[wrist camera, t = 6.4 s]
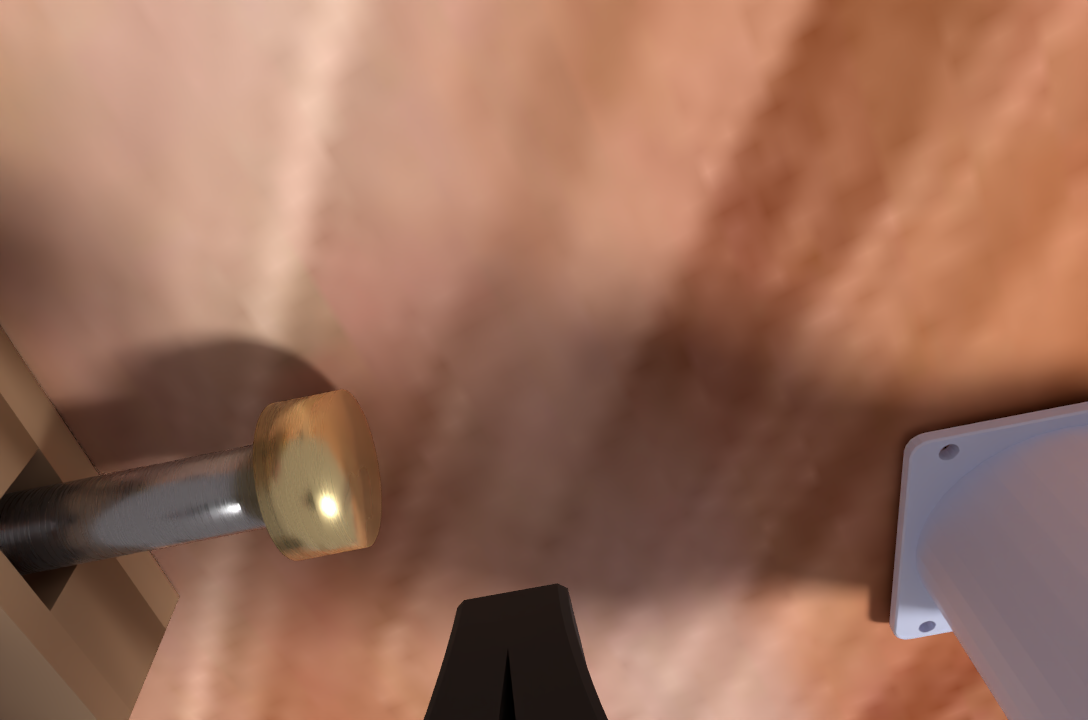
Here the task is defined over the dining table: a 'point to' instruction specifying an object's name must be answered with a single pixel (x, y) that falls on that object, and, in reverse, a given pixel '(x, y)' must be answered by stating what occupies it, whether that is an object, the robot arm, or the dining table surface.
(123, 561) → the wooden board with knobs
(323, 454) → the plunger
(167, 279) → the dining table surface
